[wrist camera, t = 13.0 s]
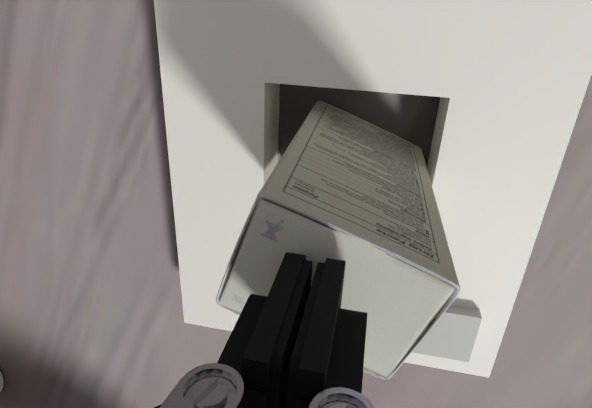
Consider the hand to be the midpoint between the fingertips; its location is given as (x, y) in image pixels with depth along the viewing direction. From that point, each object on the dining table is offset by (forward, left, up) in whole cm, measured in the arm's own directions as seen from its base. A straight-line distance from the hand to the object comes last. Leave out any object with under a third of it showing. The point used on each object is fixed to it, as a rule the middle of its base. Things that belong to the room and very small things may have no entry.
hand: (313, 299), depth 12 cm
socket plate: (0, 0, -12) cm, 12 cm away
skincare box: (0, 0, -13) cm, 13 cm away
